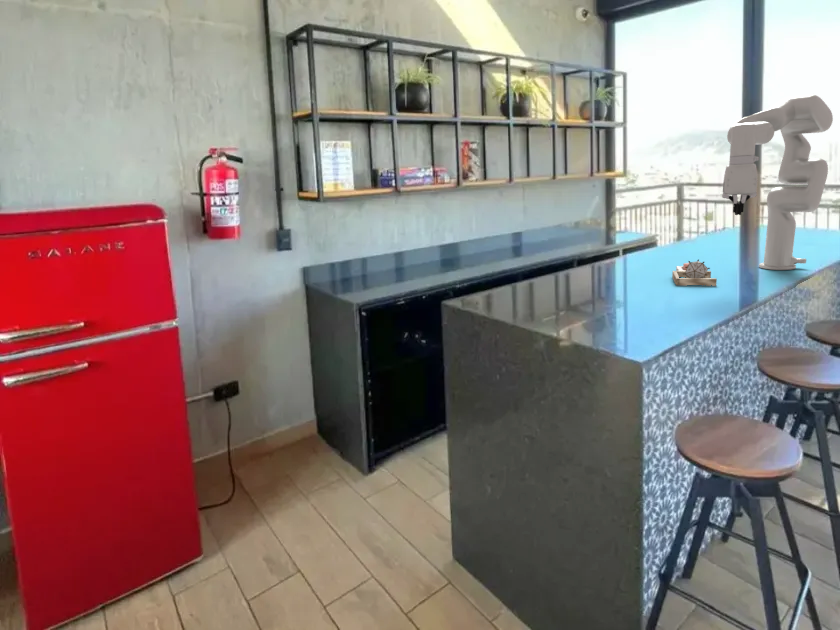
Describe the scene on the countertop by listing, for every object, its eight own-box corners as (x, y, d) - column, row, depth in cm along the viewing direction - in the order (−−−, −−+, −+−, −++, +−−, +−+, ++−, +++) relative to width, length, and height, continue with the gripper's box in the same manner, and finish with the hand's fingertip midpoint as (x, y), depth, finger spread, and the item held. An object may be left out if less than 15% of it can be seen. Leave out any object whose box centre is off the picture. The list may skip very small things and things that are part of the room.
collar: (703, 272, 230) (704, 266, 229) (707, 277, 221) (707, 270, 220) (676, 272, 233) (676, 266, 232) (678, 277, 224) (678, 270, 223)
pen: (710, 277, 220) (710, 271, 219) (716, 285, 206) (716, 279, 205) (672, 277, 224) (672, 270, 224) (675, 285, 210) (676, 278, 209)
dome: (698, 270, 228) (699, 262, 227) (700, 273, 223) (701, 265, 222) (682, 270, 230) (682, 262, 229) (683, 273, 225) (684, 265, 224)
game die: (700, 292, 214) (717, 273, 207) (679, 284, 214) (694, 265, 206) (697, 276, 220) (713, 257, 213) (676, 269, 220) (691, 250, 213)
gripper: (763, 159, 201) (759, 212, 206) (716, 162, 206) (712, 214, 211) (768, 160, 195) (764, 215, 200) (719, 162, 199) (715, 216, 204)
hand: (737, 214), depth 205 cm, fingers closed
